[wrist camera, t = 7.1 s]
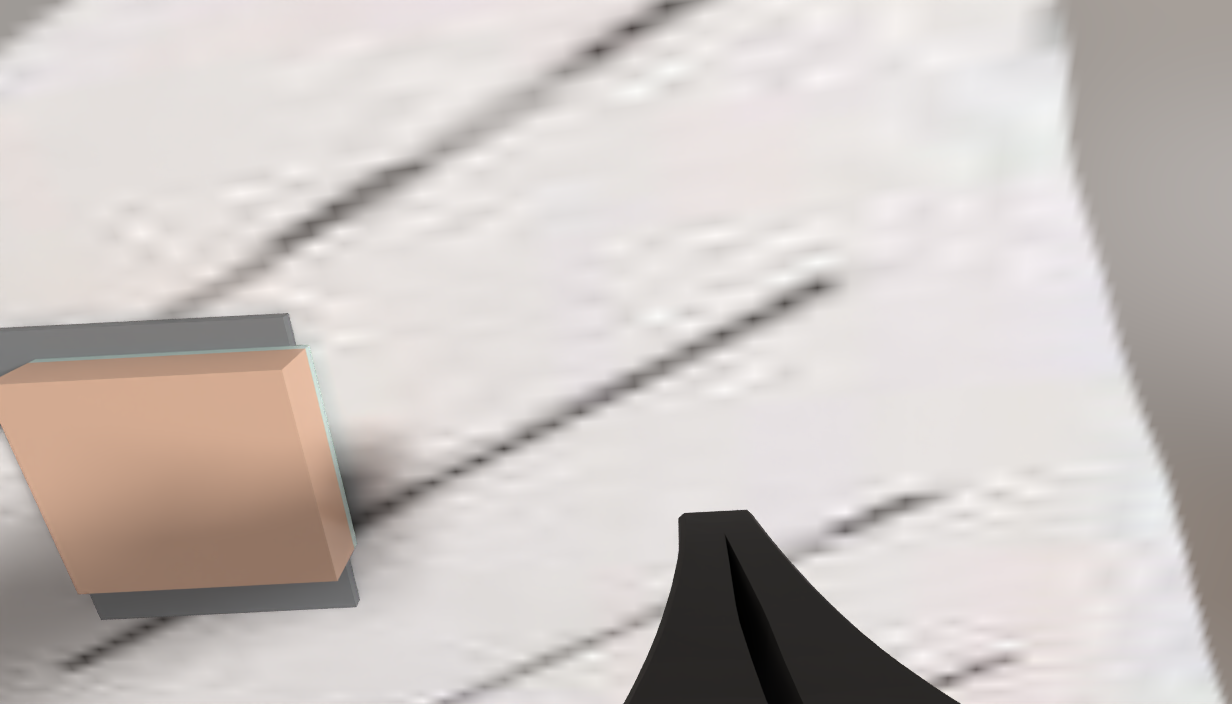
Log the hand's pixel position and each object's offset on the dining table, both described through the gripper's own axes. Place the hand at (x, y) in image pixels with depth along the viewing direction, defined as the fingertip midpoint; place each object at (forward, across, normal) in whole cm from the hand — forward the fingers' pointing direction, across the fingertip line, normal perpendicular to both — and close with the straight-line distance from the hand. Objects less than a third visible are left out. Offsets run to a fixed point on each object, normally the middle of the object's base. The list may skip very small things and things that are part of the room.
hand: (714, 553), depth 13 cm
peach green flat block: (+9, +12, +3) cm, 15 cm away
